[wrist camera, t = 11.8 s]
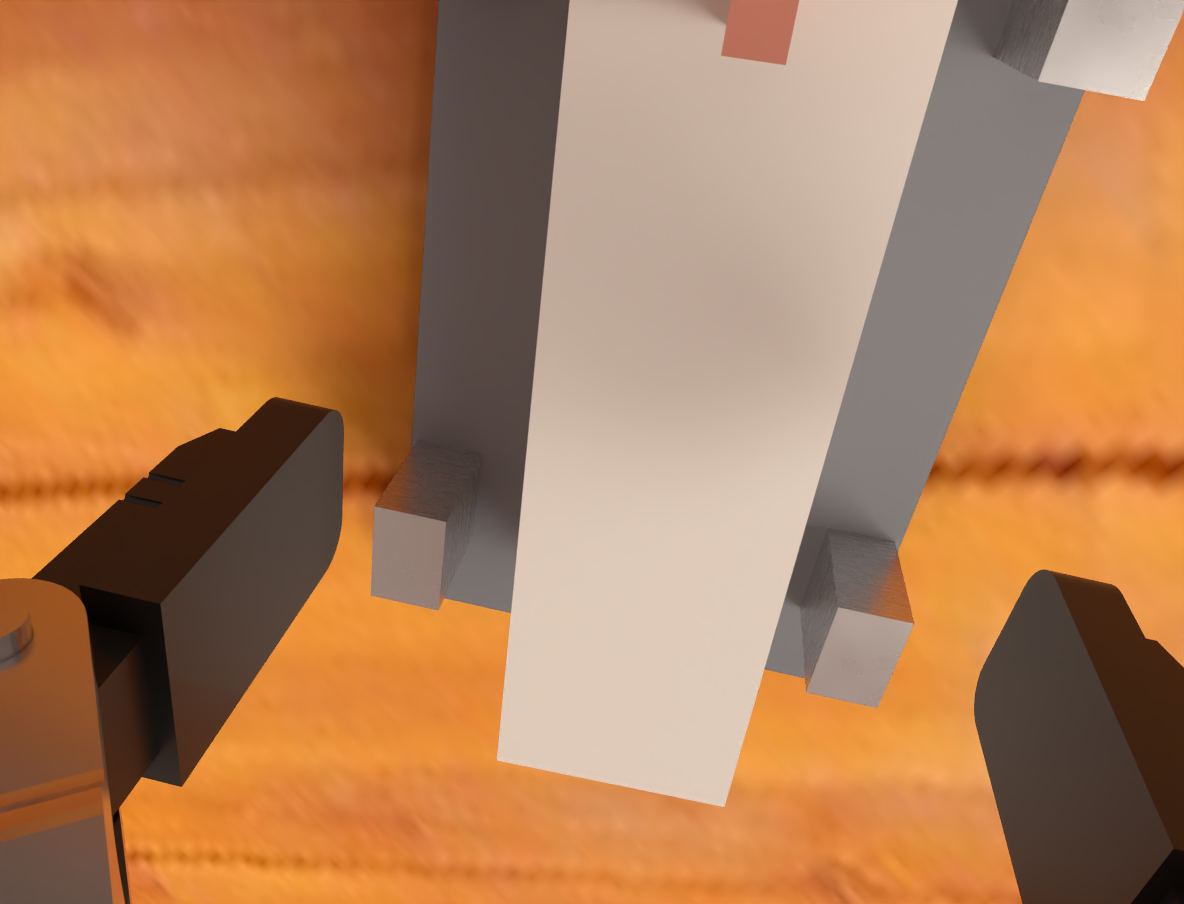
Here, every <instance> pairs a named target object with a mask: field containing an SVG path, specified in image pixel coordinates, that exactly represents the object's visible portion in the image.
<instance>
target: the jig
mask: <svg viewBox="0 0 1184 904" xmlns="http://www.w3.org/2000/svg"><path fill="white" fill-rule="evenodd" d="M569 2H570V0H439V6H438V22H437V38H436V54H435V71H434V87H433V103H432V119H431V135H430V152H429V168H428V184H427V200H426V216H425V233H424V249H423V265H422V281H421V297H420V314H419V330H418V346H417V362H416V378H415V395H414V411H413V427H412V443H411V451H410V453H409V454H408V456H407V457H406V459H405V460H404V462H403V463H402V465H401V466H400V468H399V469H398V471H397V472H396V474H395V476H394V477H393V479H392V480H391V482H390V483H389V485H388V486H387V488H386V489H385V491H384V492H383V494H382V495H381V497H380V499H379V500H378V502H377V503H376V505H375V506H374V529H373V554H372V580H371V596H376V597H380V598H385V599H389V600H394V601H398V602H403V603H407V604H412V605H416V606H421V607H425V608H430V609H434V610H439V608H440V606H441V604H442V601H443V599H444V598H446V599H450V600H455V601H459V602H464V603H468V604H473V605H477V606H482V607H486V608H491V609H495V610H500V611H504V612H509V613H511V608H512V598H513V588H514V577H515V567H516V556H517V546H518V535H519V525H520V514H521V504H522V493H523V483H524V473H525V462H526V452H527V441H528V431H529V420H530V410H531V399H532V389H533V378H534V368H535V358H536V347H537V337H538V326H539V316H540V305H541V295H542V284H543V274H544V264H545V253H546V243H547V232H548V222H549V211H550V201H551V190H552V180H553V169H554V159H555V149H556V138H557V128H558V117H559V107H560V96H561V86H562V75H563V65H564V54H565V44H566V34H567V23H568V13H569ZM1183 11H1184V0H958V2H957V5H956V9H955V12H954V16H953V19H952V23H951V26H950V30H949V33H948V37H947V40H946V43H945V47H944V50H943V54H942V57H941V61H940V64H939V68H938V71H937V74H936V78H935V81H934V85H933V88H932V92H931V95H930V99H929V102H928V106H927V109H926V112H925V116H924V119H923V123H922V126H921V130H920V133H919V137H918V140H917V144H916V147H915V150H914V154H913V157H912V161H911V164H910V168H909V171H908V175H907V178H906V181H905V185H904V188H903V192H902V195H901V199H900V202H899V206H898V209H897V213H896V216H895V219H894V223H893V226H892V230H891V233H890V237H889V240H888V244H887V247H886V251H885V254H884V257H883V261H882V264H881V268H880V271H879V275H878V278H877V282H876V285H875V289H874V292H873V295H872V299H871V302H870V306H869V309H868V313H867V316H866V320H865V323H864V326H863V330H862V333H861V337H860V340H859V344H858V347H857V351H856V354H855V358H854V361H853V364H852V368H851V371H850V375H849V378H848V382H847V385H846V389H845V392H844V396H843V399H842V402H841V406H840V409H839V413H838V416H837V420H836V423H835V427H834V430H833V434H832V437H831V440H830V444H829V447H828V451H827V454H826V458H825V461H824V465H823V468H822V471H821V475H820V478H819V482H818V485H817V489H816V492H815V496H814V499H813V503H812V506H811V509H810V513H809V516H808V520H807V523H806V527H805V530H804V534H803V537H802V541H801V544H800V547H799V551H798V554H797V558H796V561H795V565H794V568H793V572H792V575H791V579H790V582H789V585H788V589H787V592H786V596H785V599H784V603H783V606H782V610H781V613H780V616H779V620H778V623H777V627H776V630H775V634H774V637H773V641H772V644H771V648H770V651H769V654H768V658H767V661H766V665H765V668H764V669H766V670H770V671H775V672H779V673H784V674H788V675H793V676H797V677H802V678H805V684H806V692H807V693H811V694H816V695H820V696H825V697H829V698H834V699H838V700H843V701H847V702H852V703H856V704H861V705H865V706H870V707H874V708H877V707H878V705H879V703H880V700H881V698H882V696H883V693H884V691H885V689H886V687H887V684H888V682H889V680H890V678H891V675H892V673H893V671H894V668H895V666H896V664H897V662H898V659H899V657H900V655H901V653H902V650H903V648H904V646H905V643H906V641H907V639H908V637H909V634H910V632H911V630H912V627H913V625H914V621H913V617H912V613H911V608H910V604H909V600H908V595H907V591H906V587H905V583H904V578H903V574H902V570H901V565H900V561H899V557H898V553H897V552H898V550H899V547H900V545H901V542H902V540H903V537H904V535H905V532H906V530H907V527H908V525H909V522H910V520H911V518H912V515H913V513H914V510H915V508H916V505H917V503H918V500H919V498H920V495H921V493H922V490H923V488H924V486H925V483H926V481H927V478H928V476H929V473H930V471H931V468H932V466H933V463H934V461H935V458H936V456H937V454H938V451H939V449H940V446H941V444H942V441H943V439H944V436H945V434H946V431H947V429H948V426H949V424H950V422H951V419H952V417H953V414H954V412H955V409H956V407H957V404H958V402H959V399H960V397H961V394H962V392H963V389H964V387H965V385H966V382H967V380H968V377H969V375H970V372H971V370H972V367H973V365H974V362H975V360H976V357H977V355H978V353H979V350H980V348H981V345H982V343H983V340H984V338H985V335H986V333H987V330H988V328H989V325H990V323H991V321H992V318H993V316H994V313H995V311H996V308H997V306H998V303H999V301H1000V298H1001V296H1002V293H1003V291H1004V289H1005V286H1006V284H1007V281H1008V279H1009V276H1010V274H1011V271H1012V269H1013V266H1014V264H1015V261H1016V259H1017V256H1018V254H1019V252H1020V249H1021V247H1022V244H1023V242H1024V239H1025V237H1026V234H1027V232H1028V229H1029V227H1030V224H1031V222H1032V220H1033V217H1034V215H1035V212H1036V210H1037V207H1038V205H1039V202H1040V200H1041V197H1042V195H1043V192H1044V190H1045V188H1046V185H1047V183H1048V180H1049V178H1050V175H1051V173H1052V170H1053V168H1054V165H1055V163H1056V160H1057V158H1058V156H1059V153H1060V151H1061V148H1062V146H1063V143H1064V141H1065V138H1066V136H1067V133H1068V131H1069V128H1070V126H1071V123H1072V121H1073V119H1074V116H1075V114H1076V111H1077V109H1078V106H1079V104H1080V101H1081V99H1082V96H1083V94H1084V91H1085V90H1088V91H1093V92H1098V93H1104V94H1109V95H1115V96H1120V97H1125V98H1131V99H1136V100H1141V101H1144V100H1145V98H1146V95H1147V93H1148V91H1149V88H1150V86H1151V84H1152V82H1153V79H1154V77H1155V75H1156V73H1157V70H1158V68H1159V66H1160V63H1161V61H1162V59H1163V57H1164V54H1165V52H1166V50H1167V48H1168V45H1169V43H1170V41H1171V38H1172V36H1173V34H1174V32H1175V29H1176V27H1177V25H1178V22H1179V20H1180V18H1181V16H1182V13H1183Z"/></svg>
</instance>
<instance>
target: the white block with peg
mask: <svg viewBox="0 0 1184 904" xmlns="http://www.w3.org/2000/svg"><path fill="white" fill-rule="evenodd" d="M957 2H958V0H570V2H569V13H568V23H567V34H566V44H565V54H564V65H563V75H562V86H561V96H560V107H559V117H558V128H557V138H556V149H555V159H554V169H553V180H552V190H551V201H550V211H549V222H548V232H547V243H546V253H545V264H544V274H543V284H542V295H541V305H540V316H539V326H538V337H537V347H536V358H535V368H534V378H533V389H532V399H531V410H530V420H529V431H528V441H527V452H526V462H525V473H524V483H523V493H522V504H521V514H520V525H519V535H518V546H517V556H516V567H515V577H514V588H513V598H512V608H511V619H510V629H509V640H508V650H507V661H506V671H505V682H504V692H503V703H502V713H501V723H500V734H499V744H498V755H497V760H498V761H503V762H508V763H513V764H518V765H522V766H527V767H532V768H537V769H542V770H547V771H552V772H557V773H561V774H566V775H571V776H576V777H581V778H586V779H591V780H595V781H600V782H605V783H610V784H615V785H620V786H625V787H630V788H634V789H639V790H644V791H649V792H654V793H659V794H664V795H669V796H673V797H678V798H683V799H688V800H693V801H698V802H703V803H708V804H712V805H717V806H722V807H724V806H725V803H726V799H727V796H728V793H729V789H730V786H731V782H732V779H733V775H734V772H735V768H736V765H737V761H738V758H739V755H740V751H741V748H742V744H743V741H744V737H745V734H746V730H747V727H748V723H749V720H750V717H751V713H752V710H753V706H754V703H755V699H756V696H757V692H758V689H759V686H760V682H761V679H762V675H763V672H764V668H765V665H766V661H767V658H768V654H769V651H770V648H771V644H772V641H773V637H774V634H775V630H776V627H777V623H778V620H779V616H780V613H781V610H782V606H783V603H784V599H785V596H786V592H787V589H788V585H789V582H790V579H791V575H792V572H793V568H794V565H795V561H796V558H797V554H798V551H799V547H800V544H801V541H802V537H803V534H804V530H805V527H806V523H807V520H808V516H809V513H810V509H811V506H812V503H813V499H814V496H815V492H816V489H817V485H818V482H819V478H820V475H821V471H822V468H823V465H824V461H825V458H826V454H827V451H828V447H829V444H830V440H831V437H832V434H833V430H834V427H835V423H836V420H837V416H838V413H839V409H840V406H841V402H842V399H843V396H844V392H845V389H846V385H847V382H848V378H849V375H850V371H851V368H852V364H853V361H854V358H855V354H856V351H857V347H858V344H859V340H860V337H861V333H862V330H863V326H864V323H865V320H866V316H867V313H868V309H869V306H870V302H871V299H872V295H873V292H874V289H875V285H876V282H877V278H878V275H879V271H880V268H881V264H882V261H883V257H884V254H885V251H886V247H887V244H888V240H889V237H890V233H891V230H892V226H893V223H894V219H895V216H896V213H897V209H898V206H899V202H900V199H901V195H902V192H903V188H904V185H905V181H906V178H907V175H908V171H909V168H910V164H911V161H912V157H913V154H914V150H915V147H916V144H917V140H918V137H919V133H920V130H921V126H922V123H923V119H924V116H925V112H926V109H927V106H928V102H929V99H930V95H931V92H932V88H933V85H934V81H935V78H936V74H937V71H938V68H939V64H940V61H941V57H942V54H943V50H944V47H945V43H946V40H947V37H948V33H949V30H950V26H951V23H952V19H953V16H954V12H955V9H956V5H957Z"/></svg>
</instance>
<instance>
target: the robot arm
mask: <svg viewBox="0 0 1184 904" xmlns="http://www.w3.org/2000/svg"><path fill="white" fill-rule="evenodd" d="M343 444H344V426H343V420H342V416H341V414H340V413H339V412H338V411H336V410H332V409H328V408H323V407H319V406H314V405H310V404H305V403H301V402H296V401H292V400H287V399H283V398H278V397H274V398H271V399H270V400H268V401H267V402H266V403H265V404H264V405H263V406H262V407H261V408H260V409H259V410H258V411H257V412H256V413H255V414H254V415H253V416H252V417H251V418H250V419H249V420H247V421H246V422H245V423H244V424H243V425H242V426H241V427H240V428H239V429H238V430H237V431H236V432H235V431H231V430H226V429H222V428H219V429H217V430H214V431H212V432H210V433H208V434H205V435H203V436H201V437H198V438H196V439H194V440H192V441H189V442H187V443H185V444H183V445H180V446H178V447H177V448H176V449H175V450H174V451H172V452H171V453H170V454H169V455H168V456H167V457H166V458H165V459H164V460H162V461H161V462H160V463H159V464H158V465H157V466H156V467H155V468H154V469H152V470H151V471H150V472H149V477H148V478H142V479H141V480H140V481H139V482H138V483H137V484H136V485H135V486H134V487H133V488H131V489H130V490H129V491H128V492H127V493H126V494H125V499H124V500H118V501H117V502H116V503H115V504H114V505H113V506H111V507H110V508H109V509H108V510H107V511H106V512H105V513H104V514H103V515H101V516H100V517H99V518H98V519H97V520H96V521H95V522H94V523H93V524H92V525H90V526H89V527H88V528H87V529H86V530H85V531H84V532H83V533H82V534H80V535H79V536H78V537H77V538H76V539H75V540H74V541H73V542H72V543H70V544H69V545H68V546H67V547H66V548H65V549H64V550H63V551H62V552H60V553H59V554H58V555H57V556H56V557H55V558H54V559H53V560H52V561H50V562H49V563H48V564H47V565H46V566H45V567H44V568H43V569H42V570H41V571H39V572H38V573H37V574H36V575H35V576H34V577H33V578H32V579H27V578H13V579H1V580H0V904H132V897H131V889H130V881H129V872H128V864H127V856H126V848H125V839H124V831H123V823H122V816H121V810H120V806H121V805H122V803H123V802H124V800H125V799H126V798H127V796H128V795H129V794H130V792H131V791H132V789H133V788H134V787H135V785H136V784H137V782H138V781H139V780H140V778H141V777H144V778H148V779H152V780H156V781H160V782H164V783H168V784H172V785H176V786H180V787H182V786H183V784H184V783H185V781H186V780H187V778H188V777H189V775H190V774H191V772H192V771H193V769H194V768H195V766H196V765H197V763H198V762H199V760H200V759H201V757H202V756H203V754H204V753H205V751H206V750H207V749H208V747H209V746H210V744H211V743H212V741H213V740H214V738H215V737H216V735H217V734H218V732H219V731H220V729H221V728H222V726H223V725H224V723H225V722H226V720H227V719H228V717H229V716H230V714H231V713H232V711H233V710H234V708H235V707H236V705H237V704H238V702H239V701H240V699H241V698H242V696H243V695H244V693H245V692H246V690H247V689H248V687H249V686H250V684H251V683H252V681H253V680H254V678H255V677H256V675H257V674H258V672H259V671H260V669H261V668H262V666H263V665H264V663H265V662H266V660H267V659H268V658H269V656H270V655H271V653H272V652H273V650H274V649H275V647H276V646H277V644H278V643H279V641H280V640H281V638H282V637H283V635H284V634H285V632H286V631H287V629H288V628H289V626H290V625H291V623H292V622H293V620H294V619H295V617H296V616H297V614H298V613H299V611H300V610H301V608H302V607H303V605H304V604H305V602H306V601H307V599H308V598H309V596H310V595H311V593H312V592H313V590H314V589H315V587H316V586H317V584H318V583H319V581H320V580H321V578H322V577H323V575H324V574H325V572H326V571H327V569H328V567H329V565H330V563H331V561H332V559H333V557H334V554H335V551H336V548H337V545H338V541H339V537H340V532H341V525H342V499H343ZM974 715H975V723H976V727H977V731H978V735H979V739H980V743H981V746H982V750H983V754H984V758H985V762H986V766H987V769H988V773H989V777H990V781H991V785H992V789H993V792H994V796H995V800H996V804H997V808H998V811H999V815H1000V819H1001V823H1002V827H1003V831H1004V834H1005V838H1006V842H1007V846H1008V850H1009V854H1010V857H1011V861H1012V865H1013V869H1014V873H1015V877H1016V880H1017V884H1018V888H1019V892H1020V896H1021V899H1022V903H1023V904H1184V667H1183V666H1182V665H1181V664H1179V663H1178V662H1177V661H1176V660H1175V659H1174V658H1173V657H1172V656H1171V655H1170V654H1169V653H1168V652H1167V651H1166V650H1165V649H1164V648H1163V647H1162V646H1161V645H1160V644H1159V643H1158V642H1157V641H1155V640H1150V639H1146V638H1145V636H1144V635H1143V633H1142V631H1141V629H1140V627H1139V625H1138V623H1137V621H1136V619H1135V618H1134V616H1133V614H1132V612H1131V610H1130V608H1129V606H1128V604H1127V602H1126V600H1125V599H1124V597H1123V595H1122V593H1121V592H1120V590H1119V589H1118V588H1117V587H1116V586H1114V585H1112V584H1107V583H1103V582H1098V581H1094V580H1089V579H1085V578H1080V577H1076V576H1071V575H1067V574H1062V573H1058V572H1053V571H1049V570H1040V571H1038V572H1036V573H1035V574H1034V575H1033V576H1032V577H1031V578H1030V579H1029V580H1028V582H1027V584H1026V585H1025V587H1024V589H1023V591H1022V593H1021V595H1020V597H1019V599H1018V601H1017V602H1016V604H1015V606H1014V608H1013V610H1012V612H1011V614H1010V616H1009V618H1008V620H1007V622H1006V624H1005V625H1004V627H1003V629H1002V631H1001V633H1000V635H999V637H998V639H997V641H996V643H995V645H994V647H993V648H992V650H991V652H990V654H989V656H988V658H987V660H986V662H985V664H984V666H983V668H982V670H981V673H980V676H979V679H978V682H977V687H976V692H975V702H974Z"/></svg>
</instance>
